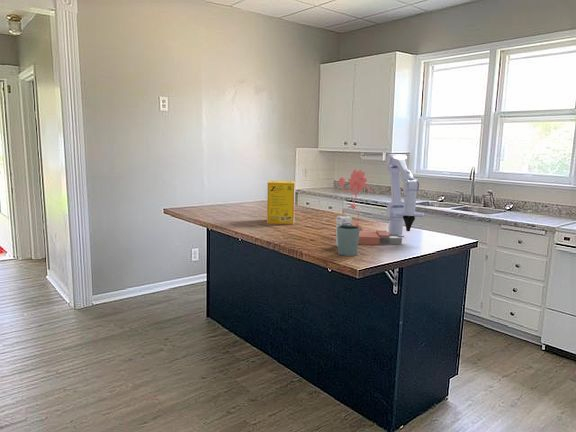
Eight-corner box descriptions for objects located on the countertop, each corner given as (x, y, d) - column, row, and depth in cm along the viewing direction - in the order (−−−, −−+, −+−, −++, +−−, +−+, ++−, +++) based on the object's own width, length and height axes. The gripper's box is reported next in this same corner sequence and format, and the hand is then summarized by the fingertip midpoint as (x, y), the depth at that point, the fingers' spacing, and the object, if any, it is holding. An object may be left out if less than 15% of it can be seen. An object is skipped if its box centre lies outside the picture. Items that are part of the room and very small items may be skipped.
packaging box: (269, 219, 285) (269, 180, 281) (294, 220, 284) (295, 181, 280) (266, 223, 269) (267, 182, 265) (293, 224, 268) (294, 183, 264)
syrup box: (340, 248, 207) (341, 217, 204) (335, 245, 212) (336, 215, 210) (351, 247, 208) (352, 217, 206) (346, 244, 214) (347, 215, 212)
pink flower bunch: (363, 237, 231) (368, 170, 227) (329, 230, 251) (332, 168, 247) (383, 235, 241) (387, 170, 236) (348, 228, 261) (351, 168, 256)
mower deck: (356, 237, 232) (356, 229, 232) (396, 238, 231) (397, 230, 230) (358, 243, 217) (359, 235, 216) (402, 245, 215) (402, 236, 215)
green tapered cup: (346, 257, 189) (348, 229, 188) (331, 252, 197) (332, 226, 196) (363, 254, 195) (364, 227, 193) (347, 249, 203) (348, 224, 202)
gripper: (396, 204, 217) (394, 231, 219) (426, 205, 216) (424, 232, 218) (393, 202, 223) (392, 229, 226) (423, 203, 223) (421, 230, 225)
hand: (407, 230), depth 222 cm, fingers closed
